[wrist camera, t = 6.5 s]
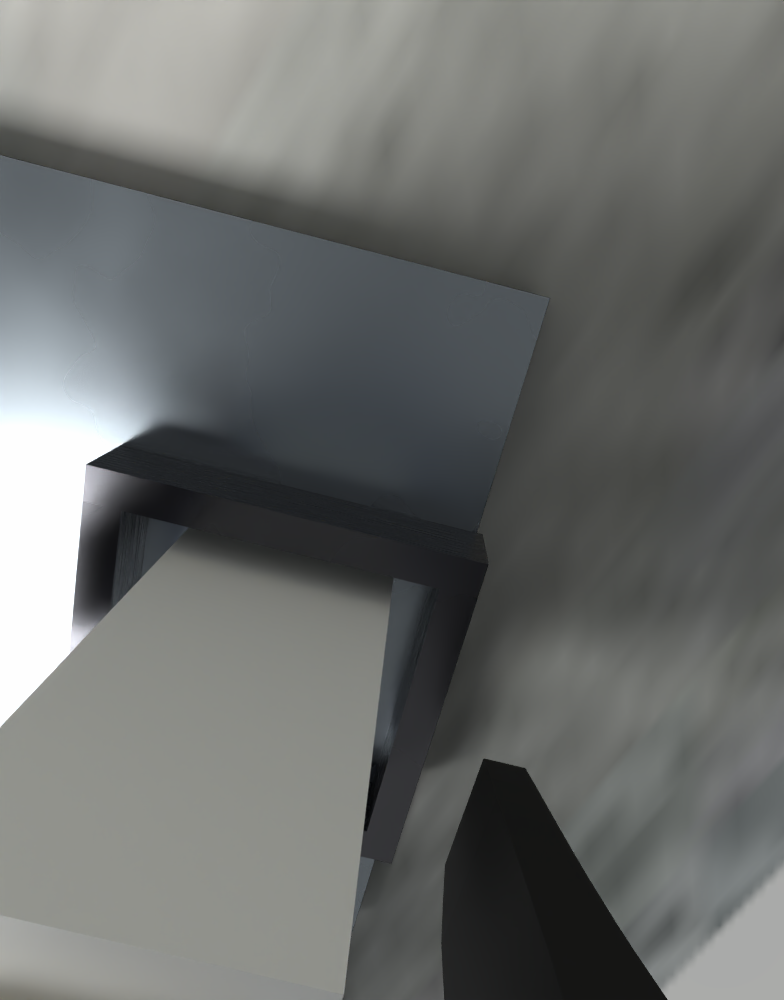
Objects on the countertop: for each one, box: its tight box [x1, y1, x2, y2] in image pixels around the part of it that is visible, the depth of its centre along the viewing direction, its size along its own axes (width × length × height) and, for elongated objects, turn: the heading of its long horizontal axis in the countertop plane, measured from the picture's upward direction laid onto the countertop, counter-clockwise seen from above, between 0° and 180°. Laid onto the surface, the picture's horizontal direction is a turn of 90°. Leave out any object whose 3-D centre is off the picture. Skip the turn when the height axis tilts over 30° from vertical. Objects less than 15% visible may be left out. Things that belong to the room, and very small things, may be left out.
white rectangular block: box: [0, 528, 393, 1000], centre depth 8 cm, size 4×4×8 cm
